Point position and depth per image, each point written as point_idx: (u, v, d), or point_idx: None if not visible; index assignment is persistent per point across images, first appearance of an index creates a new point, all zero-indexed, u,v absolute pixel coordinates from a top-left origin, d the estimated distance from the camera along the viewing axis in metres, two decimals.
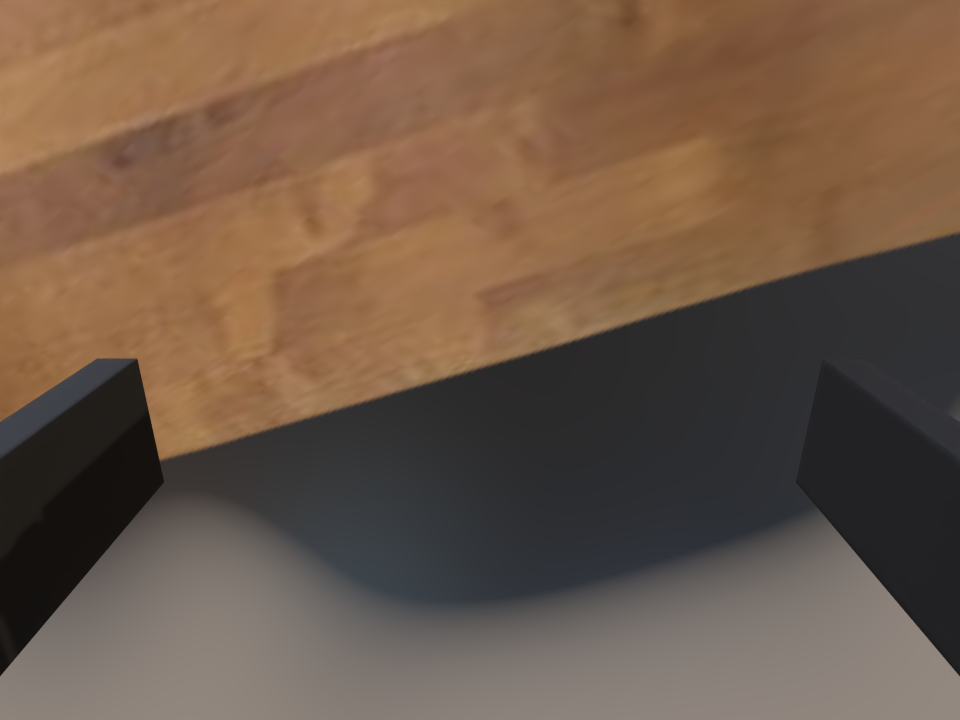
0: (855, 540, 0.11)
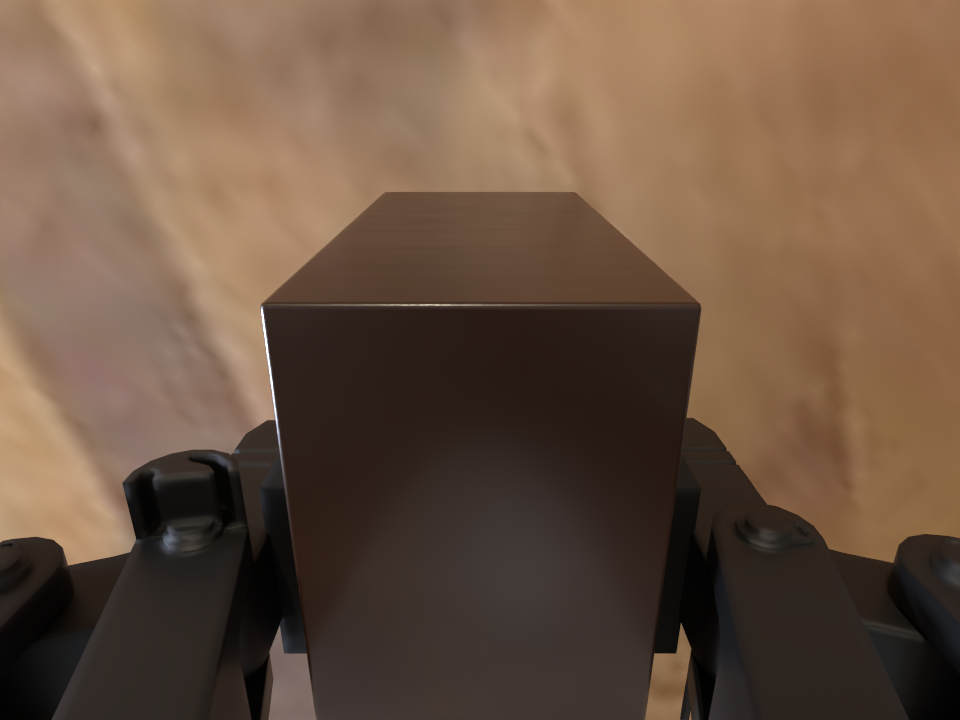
0: None
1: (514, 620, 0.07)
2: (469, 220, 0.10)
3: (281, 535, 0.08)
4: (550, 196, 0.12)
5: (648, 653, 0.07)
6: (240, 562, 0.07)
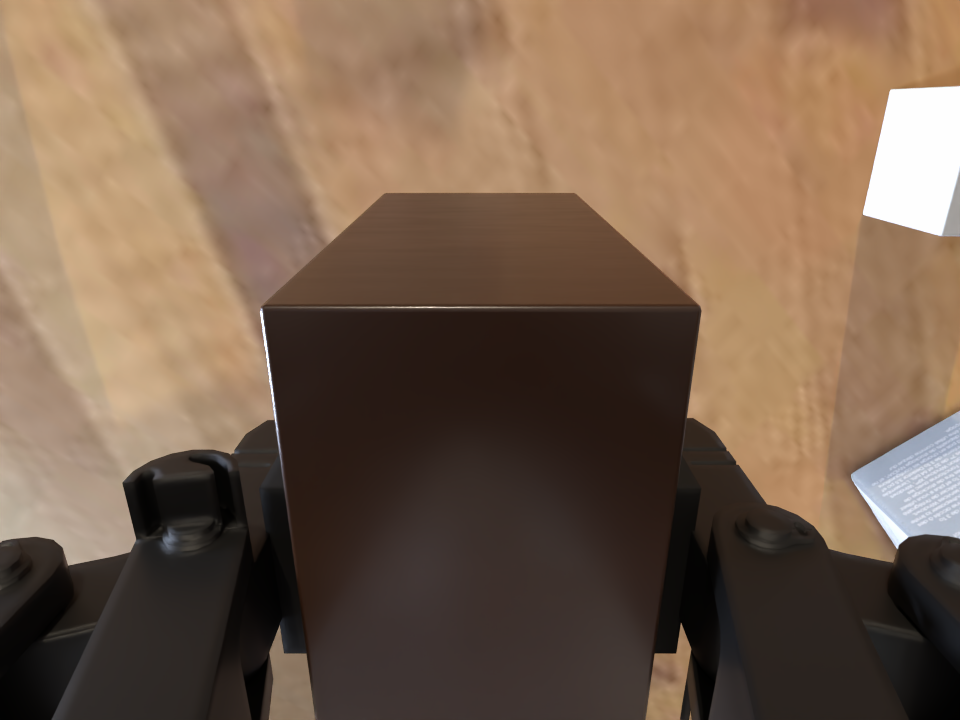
0: None
1: (515, 622, 0.07)
2: (469, 221, 0.10)
3: (281, 535, 0.08)
4: (550, 197, 0.12)
5: (648, 655, 0.07)
6: (240, 562, 0.07)
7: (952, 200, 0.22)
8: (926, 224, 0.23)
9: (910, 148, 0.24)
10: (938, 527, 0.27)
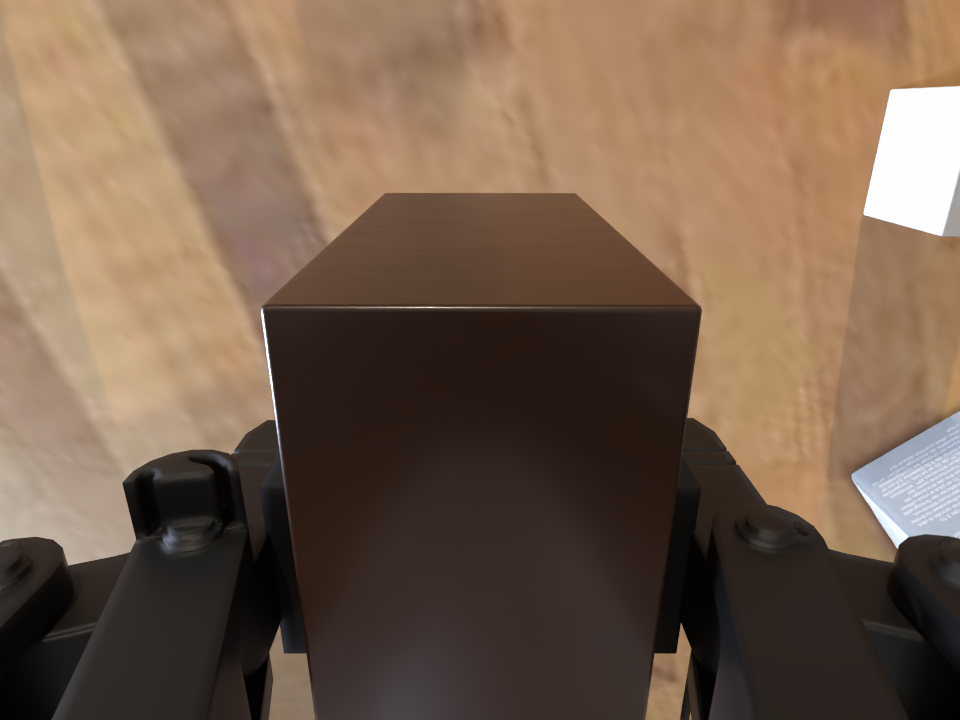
0: None
1: (514, 621, 0.07)
2: (469, 222, 0.10)
3: (281, 535, 0.08)
4: (550, 197, 0.12)
5: (648, 655, 0.07)
6: (240, 562, 0.07)
7: (953, 200, 0.22)
8: (926, 224, 0.23)
9: (910, 148, 0.24)
10: (938, 527, 0.27)
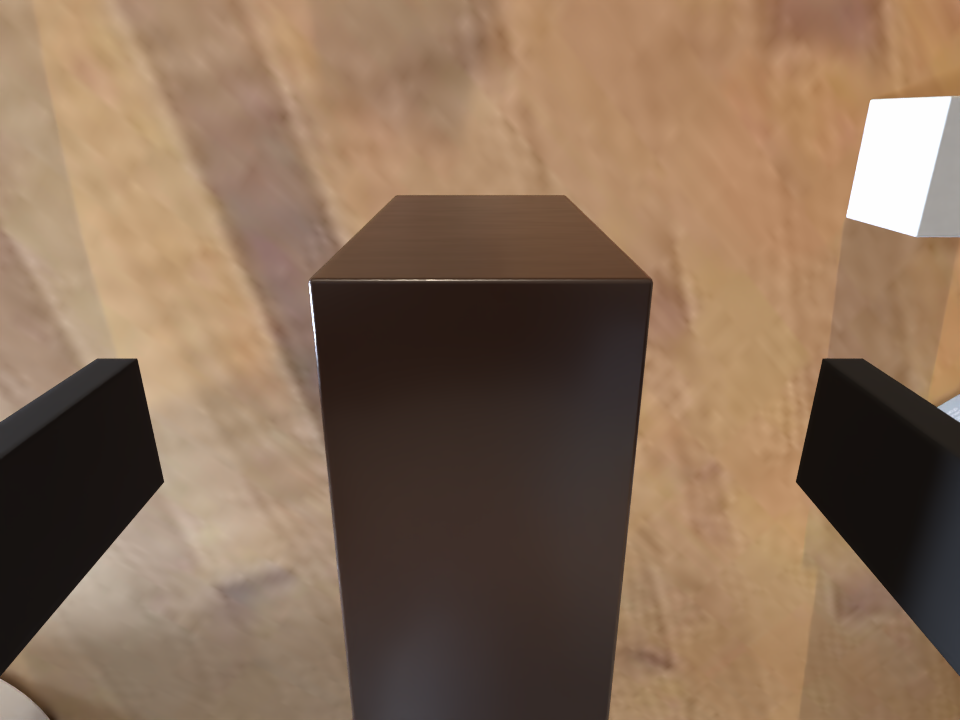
0: (855, 540, 0.11)
1: (508, 541, 0.09)
2: (471, 218, 0.11)
3: None
4: (542, 199, 0.14)
5: (618, 571, 0.09)
6: None
7: (926, 203, 0.24)
8: (903, 226, 0.25)
9: (888, 154, 0.26)
10: None
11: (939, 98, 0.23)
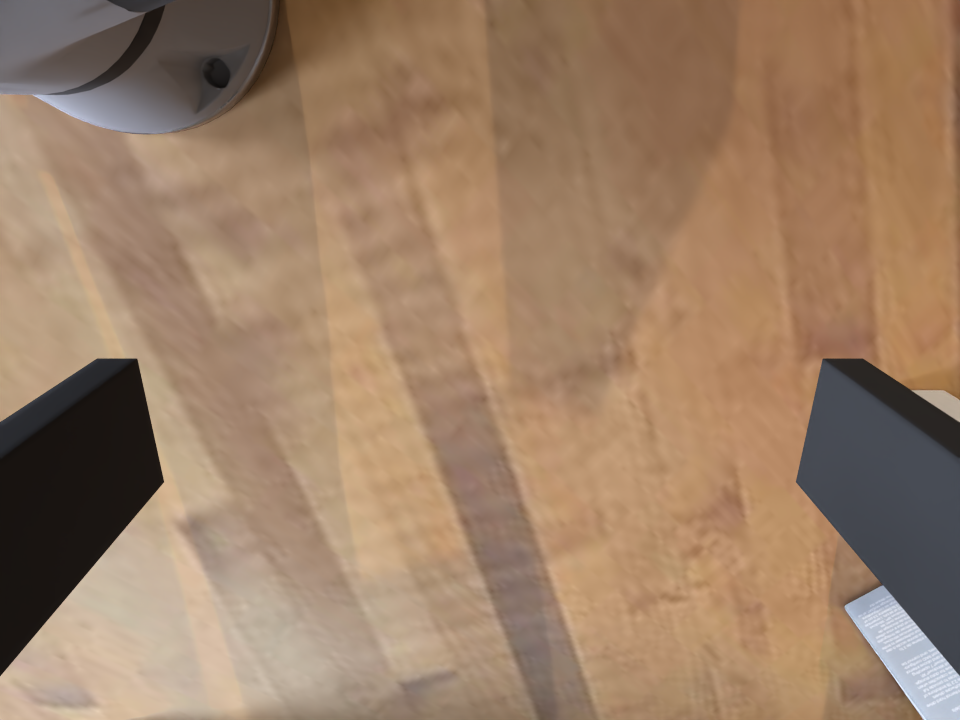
0: (855, 540, 0.11)
1: None
2: None
3: None
4: None
5: None
6: None
7: None
8: None
9: None
10: (898, 655, 0.43)
11: None
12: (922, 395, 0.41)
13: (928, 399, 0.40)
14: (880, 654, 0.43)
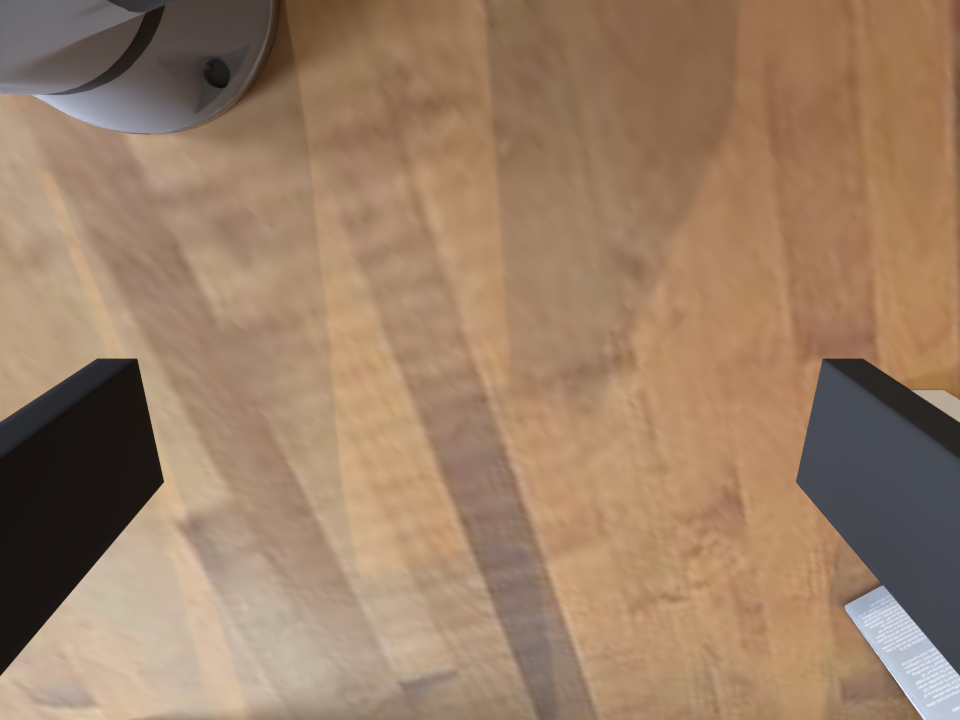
0: (855, 540, 0.11)
1: None
2: None
3: None
4: None
5: None
6: None
7: None
8: None
9: None
10: (898, 655, 0.43)
11: None
12: (922, 395, 0.41)
13: (928, 399, 0.40)
14: (880, 654, 0.43)
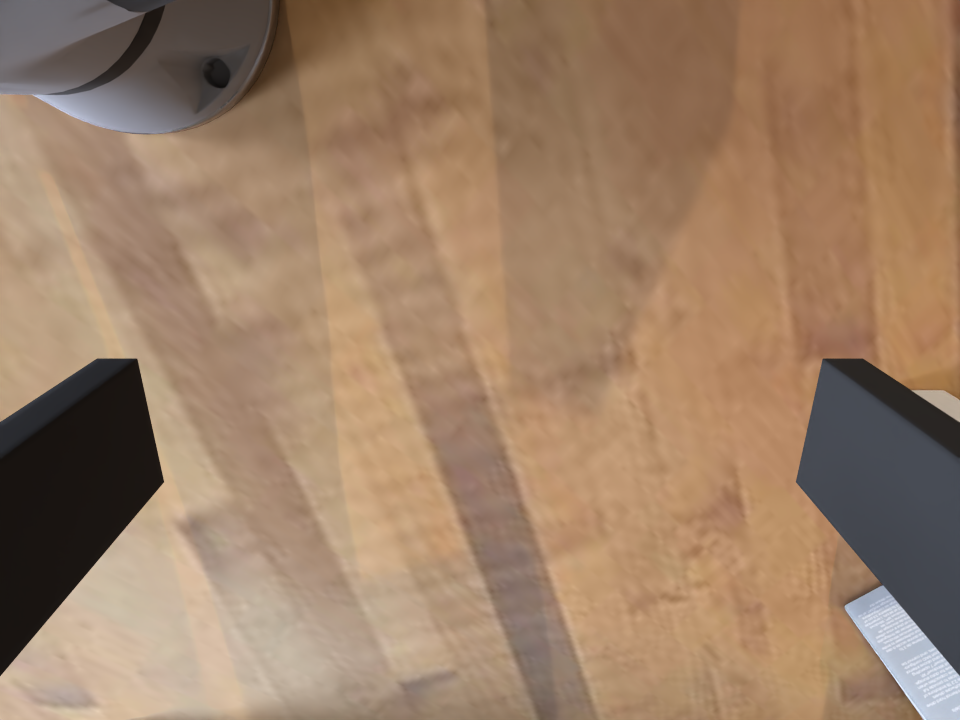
0: (855, 540, 0.11)
1: None
2: None
3: None
4: None
5: None
6: None
7: None
8: None
9: None
10: (898, 655, 0.43)
11: None
12: (922, 395, 0.41)
13: (928, 399, 0.40)
14: (880, 654, 0.43)
